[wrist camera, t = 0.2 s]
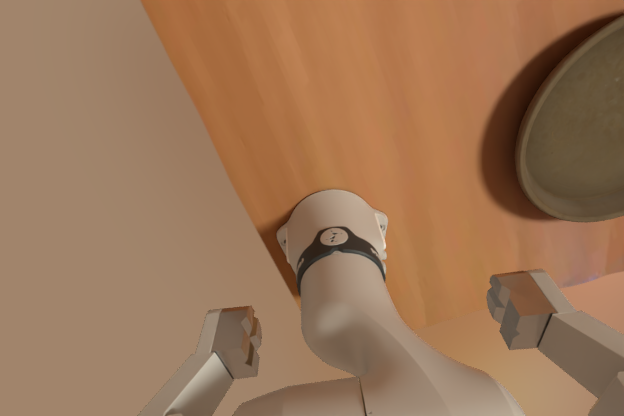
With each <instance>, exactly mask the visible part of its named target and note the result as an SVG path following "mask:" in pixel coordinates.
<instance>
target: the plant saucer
mask: <svg viewBox="0 0 624 416" xmlns="http://www.w3.org/2000/svg"><path fill="white" fill-rule="evenodd" d="M515 166H516V173H517V178H518V181H519V184H520V186H521V189H522V190H523V192H524V194H525V195H526V197H527V198H528V199H529V201H530V202H531V203H532V204H533V205H534V206H536V207H537V208H538V209H539V210H541V211H542V212H544V213H546V214H548V215H550V216H552V217H555V218H558V219H561V220H566V221H572V222H597V221H604V220H609V219H613V218H617V217H620V216H624V15H622V16H620V17H618V18H617V19H615V20H613V21H611V22H610V23H608V24H607V25H605V26H603V27H602V28H600V29H599V30H597V31H596V32H594V33H593V34H592V35H590V36H589V37H587V38H586V39H585V40H583V41H582V42H581V43H580V44H579V45H577V46H576V47H575V48H574V49H573V50H572V51H571V52H570V53H568V54H567V55H566V56H565V57H564V58H563V59H562V60H561V61H560V62H559V64H558V65H557V66H556V67H555V68H554V69H553V70H552V72H551V73H550V74H549V75H548V76H547V78H546V79H545V80H544V82H543V83H542V84H541V86H540V87H539V89H538V91H537V92H536V94H535V95H534V97H533V99H532V100H531V102H530V104H529V106H528V108H527V110H526V112H525V115H524V117H523V120H522V122H521V125H520V128H519V132H518V135H517V140H516V147H515Z"/></svg>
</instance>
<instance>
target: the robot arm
mask: <svg viewBox="0 0 624 416" xmlns="http://www.w3.org/2000/svg"><path fill="white" fill-rule="evenodd" d="M387 224H388V219H387V216H386V215H385V214H384V213H382V212H380V211H378V210H375V209H373V208H371V207H370V206H369V205H368V204H367V203H366V202H365V201H364V200H363V199H362V198H360V197H359V196H357V195H355V194H353V193H351V192H348V191H343V190H325V191H320V192H317V193H315V194H312V195H310V196H308V197H307V198H305V199H304V200H303V201H301V202H300V203H299V204H298V205H297V207H296V208H295V209H294V211H293V213H292V215H291V217H290V219H289V220H288V222H287V223H285V224H284V225H283V226H282V227H281V228H280V229H279V230H278V231H277V233H276V236H277V240H278V242H279V244H280V246H281V248H282V250H283V251H284V253H285V255H286V257H287V262H288V263H289V264H290V265H291V267H292V269H293V271H294V272H295V274H296V283H297V288H298V292H299V295H300V297H301V325H302V326H301V329H302V334H303V337H304V339H305V342H306V344H307V345H308V347H309V348H310V349H311V350H312V352H313V353H315V354H316V355H317V356H318V357H319V358H320V359H321V360H322V361H324V362H325V363H327V364H329V365H331V366H333V367H335V368H338V369H341V370H343V371H346V372H348V373H351V374H353V375H354V376H356V377H352V378H345V379H338V380H330V381H323V382H315V383H308V384H300V385H293V386H288V387H285V388H282V389H279V390H276V391H273V392H270V393H267V394H265V395H262V396H260V397H257V398H255V399H252V400H249V401H247V402H245V403H242V404H241V405H240V406H239V407H238V408H237V410H236V411H235V412H234V414H233V415H232V416H526V415H525V413H524V412H523V410H522V408H521V407H520V405H519V404H518V403H517V401H516V400H515V399H514V397H513V396H512V395H511V394H510V393H509V392H508V391H507V389H505V387H504V386H503V385H501V384H500V383H499V382H498V381H497V380H496V379H494V378H493V377H492V376H490V375H489V374H487V373H486V372H484V371H482V370H479V369H476V368H473V367H470V366H467V365H465V364H462V363H460V362H458V361H456V360H454V359H452V358H450V357H448V356H446V355H444V354H443V353H441V352H439V351H438V350H436V349H435V348H433V347H432V346H430V345H429V344H428V343H426V342H425V341H424V340H422V339H421V338H420V337H419V336H418V335H416V334H415V333H414V332H413V331H412V330H411V329H410V328H409V327H408V326H407V325H406V324H405V323H404V321H403V320H402V319H401V317H400V316H399V314H398V313H397V311H396V308H395V306H394V304H393V302H392V300H391V298H390V295H389V293H388V290H387V288H386V285H385V274H386V266H385V263H384V262H382V260H385V259H386V251H384V249H385V248H386V244H385V235H386V229H387ZM380 225H381V226H380ZM284 240H286V241H284ZM490 284H491V286H492V288H490V289H489V290H488V292H487V304H488V308H489V310H490V313H491V315H492V317H493V319H494V320H496V321H497V322H499V323H500V324H501V328H500V333H501V335H502V337H503V339H504V341H505V342H506V344H507V346H508V348H509V350H515V349H529V348H538V350H539V351H540V352H542V353H543V354H544V355H545V356H546V357H548V358H549V359H550V360H551V361H553V362H554V363H555V364H556V365H558V366H559V367H560V368H562V369H563V370H564V371H565V372H566V373H567V374H569V375H570V376H571V377H572V378H574V379H575V380H576V381H577V382H578V383H580V384H581V385H582V386H584V387H585V388H586V389H587V390H588V391H589V392H591V393H592V394H593V395H594V396H596V397H597V398H598V400H597V401H596V403H595V404H594V405H593V407H592V408H591V409H590V412H589V414H588V416H624V334H622V333H620V332H618V331H616V330H615V329H613V328H611V327H609V326H607V325H606V324H604V323H602V322H601V321H599V320H597V319H595V318H594V317H592V316H590V315H588V314H586V313H585V312H583V311H576V310H575V309H574V307H573V306H572V305H571V303H570V302H569V301H568V300H567V298H566V297H565V296H564V294H563V293H562V292H561V290H560V289H559V288H558V286H557V285H556V284H555V283H554V281H553V280H552V279H551V277H550V276H549V275H548V273H547V272H546V271H545V270H543V269H535V270H527V271H517V272H510V273H503V274H495V275H492V276H491V278H490ZM261 339H262V335H261V326H260V322H259V320H258V319H257V318H256V317H254V309H253V308H252V306H244V307H234V308H224V309H216V310H209V311H208V313H207V314H206V317H205V321H204V324H203V328H202V331H201V335H200V339H199V342H198V346H197V349H196V353H195V354H192V355H190V357H189V358H188V359H187V360H186V361H185V362H184V363H183V364H182V366H181V367H180V368H179V369H178V370H177V371H176V373H175V374H174V375H173V376H172V377H171V378H170V379H169V380H168V382H167V383H166V384H165V385H164V386H163V387H162V388H161V389H160V391H159V392H158V393H157V394H156V395H155V396H154V397H153V398H152V400H151V401H150V402H149V403H148V404H147V405H146V406H145V408H144V409H143V410H142V411H141V412H140V413H139V414H138V415H137V416H212V415H213V413H214V412H215V410H216V408H217V407H218V405H219V404H220V402H221V400H222V399H223V397H224V396H225V394H226V393H227V391H228V389H229V388H230V386H231V385H232V382H233V381H234V380H233V379H240V378H248V377H255V376H257V374H258V365H259V355H258V354H257V352H256V351H257V350H258V348H259V347H260V346H261ZM358 378H359V380H358ZM359 383H360V385H359Z"/></svg>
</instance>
